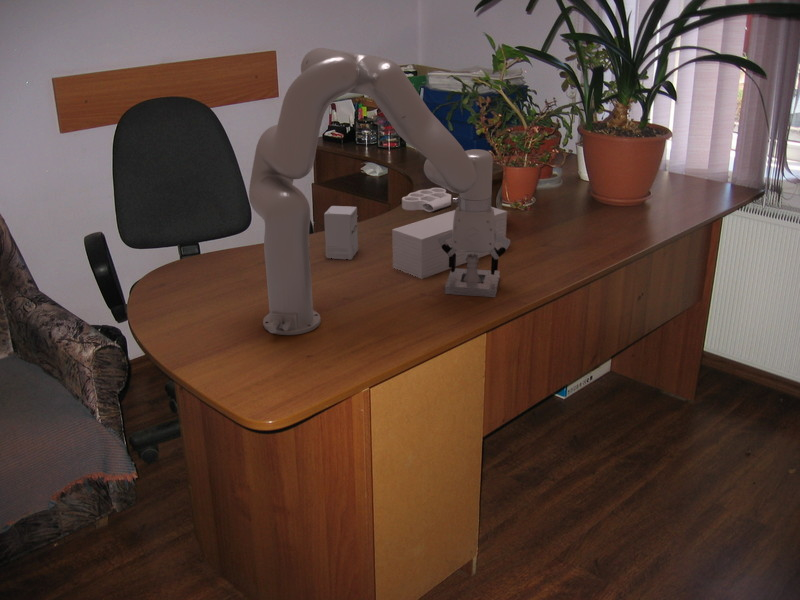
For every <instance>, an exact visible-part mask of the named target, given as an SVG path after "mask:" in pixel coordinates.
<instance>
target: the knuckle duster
mask: <svg viewBox="0 0 800 600" xmlns="http://www.w3.org/2000/svg"><path fill="white" fill-rule="evenodd" d="M449 206H451V194H450V193H447V189H446V188H444V187H431V188H427V189H420V190H419V189H418V190H416V191H414V192H410V193H409V194H407V195H406V196H403V197H402V198H401V208H402V209H403V210H405V211H418V210H420V211H421V210H422V211H426V212H427V213H428V212H429V213H433V212H434V211H437V210H441V209H444V208H446V207H449Z"/></svg>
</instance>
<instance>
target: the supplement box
mask: <svg viewBox="0 0 800 600" xmlns="http://www.w3.org/2000/svg"><path fill="white" fill-rule="evenodd" d="M323 217H324V218H323V219H324V223H323V224H324V238H325V239H324V241H325V259H331V258H332V260H333V259H336V260H346V259H348V261H350V260H351V261H352V260H353V258H354V256H355V255H356V253H357V252H358V251H359V239H358V236H359V234H358V233H359V232H358V208H357V206H347V205H345V206H343V205H342V206H341V205H331V206H330V207H329V208H328V209H327V210H326V211H325V212H324V214H323Z"/></svg>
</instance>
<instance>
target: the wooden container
mask: <svg viewBox="0 0 800 600" xmlns="http://www.w3.org/2000/svg"><path fill="white" fill-rule="evenodd" d="M503 179H504V167H503V165H502V164H499V163H495V162H493V165H492V193H491V207H493V208H497V209H501V210H503V185H504V184H503V182H504V181H503ZM450 192H451V191H450ZM458 196H459V193H454V192H451V205H450V211H453V210H456V208H457V207H458V204H456V203H453V198H456V197H458Z"/></svg>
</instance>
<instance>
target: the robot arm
mask: <svg viewBox="0 0 800 600" xmlns="http://www.w3.org/2000/svg"><path fill="white" fill-rule="evenodd" d="M300 73H301V74H300V75H298V76H297V77H296V78H295V79H294V80H293V82H291V84H290V85H289V87H288V89H287V90H286V92H285V95H284V98H283V100H282V105H281V109H280V114H279V117H278V121H277V124H276V125H272V126H270V127H268V128H267V129H266V130H265V131H263V133H262V134H261V135H260V137H259V139H258V141H257V144H256V148H255V151H254V153H255V154H254V156H253V157H254V159H253V163H252V168H251V169H252V170H251V175H250V180H249V181H250V182H249V188H248V189H249V190H248V199H249V203H250V206H251V208H252V209H253V211H254V212H255V213H257V215H258V216H260V217H261V219H262V220H263V222H264V236H263V237H264V238H263V239H264V240H263V250H264V251H263V252H264V262H265V263H264V264H265V269H266V270H265V273H266V284H267V286H266V288H267V298H268V310H269V312H268V313H267V314H266V315H265V316H264V318H263V320H262V325H263V327H264V329H265V330H266V331H268V332H269V333H270V334H275V335H280V336H296V335H303V334H306V333H309V332H312V331H313V330H315V329H317V328H318V327H319V326H320V324H321V315H320V314H319V312H317V310H314V306H313V305H314V304H313V289H312V288H313V287H312V274H311V273H312V272H311V271H312V270H311V256H310V227H311V226H310V225H311V207H310V203H309V200H308V198H307V197H306V195H305V194H304V193H303V192H302V190H300V188H298V187H296V186H295V185H294V180H300V179H303V178H305V177H306V176H307V175H309V174H310V173H311V171H312V169H313V166H314V164H315V159H316V153H317V148H318V147H317V146H318V143H319V137H320V132H321V126H322V123H323V119H324V116H325V114H326V111H327V109H328V108H329V107H330V105H331V104H332V103H333V102H335V101H336V100H337V99H338V98H340V97H342V96H344V95H346V94H357V95H364V96H367V97H369V98H371V99H372V100H373V101H374V103H375V105H376V106H377V107H378V109H379V110H380V111H381V112H382V114H383V115H384V117H385V118H386V119H387V121H388V122H389V124H390V125H391V127H392V128H393V129H394V131H395V132H396V134H397V135H398V136H399V137H400V138H402V140H403V141H404V142H405V143H406V144H408V145H409V146H411V147H412V148H413V149H415V150H416V151H417V152H419V153H420V154H421V155H422V156H424V157H425V158H426V159H425V161H424V165H423V172H424V175H425V177H426V178H427V179H428V180H429V181H430V182H431V183H434V184H436V186H437V185H438V186H439V187H440V188H443V189H445V190H446V191H447V190H448V191H450V192H454V193H459V196H458V197H456V198H453V203H456V204H458V207H457V208H456V210H455V214H454V220H453V230H452V231H450V232H447V233H445V234H443V235H440V236H439V237H438V241H439V243H440V245H441V247H442V249H443V250H444V251H445V252H446V253H447V255H448V256H449V268H450V271H451V272H454V271H455V268H457V266H456V254H455V252H456V251H462V252H479V253H490V254H489V255H491V256H492V257H491V265H490V266H491V267H490V268H491V269H490V270H491V274H492V275H494V273H495V271H499V269H498V267H499V258H500V257H501V256H503V255H504V254H505V253H506V251H507V249H508V248H509V247H510V245H511V239H509V238H507V236H506V237H504V236H502V235H500V234H498V233H497V232H496V226H495V215H494V209H493V208H491V193H492V165H493V163H494V162H493V161H494V159H493V155H492V154H491V152H489V151H488V150H485V149H476V148H475V149H473V148H472V149H467V150H465V149H464V148H463V146H462V145H461V144H460V143H459V141H458V140H457V139H456V138H455V136H453V134H452V133H451V132H450V131H449V130H448V129H447V128H446V127H445V126H444V125H443V123H441V121H440V120H439V119H438V118H437V117H436V116H435V115H434V113H432V111H431V110H430V109H429V107H428V106H427V104H426V103H425V101H424V100H423V99H422V97H421V96H420V94H419V92H418V91H417V90H416V87H414V85H413V83H412V82H411V81H410V79H409V78H408V76H407V75H406V73H405V72H404V70H403V69H402V67H400V65H399V64H398V63H397V62H395V61H393V60H391V59H387V58H385V57H380V56H376V55H370V54H362V53H355V52H350V51H349V52H348V51H345V50H344V51H343V50H336V49H330V48H325V47H317V48H314V49H312V50H310V51H308V52H307V53H306V54H305V55H304V56H303V58H302V60H301V64H300ZM451 237H452V247H450V246H449V245H448V244H447V243H446V241H445V240H446V239H449V238H451ZM496 240H498V241H500V242H501V243H503V246H502V247H501V248H500V249H499V250H497V248H496V247H495V241H496Z"/></svg>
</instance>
